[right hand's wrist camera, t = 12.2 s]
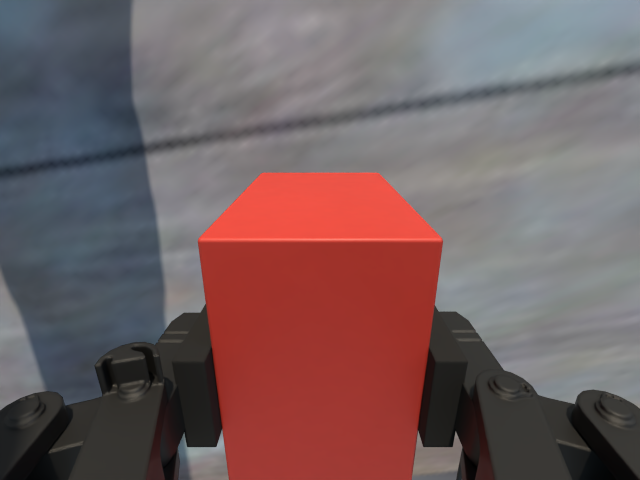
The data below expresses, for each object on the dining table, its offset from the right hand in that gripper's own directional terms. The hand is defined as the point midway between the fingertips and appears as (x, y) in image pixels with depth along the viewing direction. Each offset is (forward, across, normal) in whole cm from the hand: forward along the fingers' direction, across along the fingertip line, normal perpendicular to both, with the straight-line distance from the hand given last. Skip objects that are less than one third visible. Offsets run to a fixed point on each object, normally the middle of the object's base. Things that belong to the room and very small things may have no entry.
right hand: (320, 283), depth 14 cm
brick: (+3, 0, 0) cm, 3 cm away
